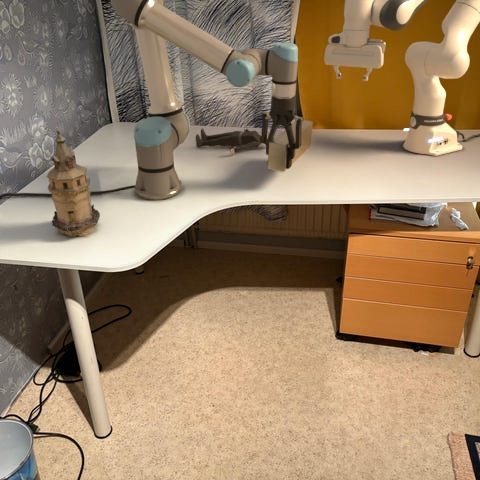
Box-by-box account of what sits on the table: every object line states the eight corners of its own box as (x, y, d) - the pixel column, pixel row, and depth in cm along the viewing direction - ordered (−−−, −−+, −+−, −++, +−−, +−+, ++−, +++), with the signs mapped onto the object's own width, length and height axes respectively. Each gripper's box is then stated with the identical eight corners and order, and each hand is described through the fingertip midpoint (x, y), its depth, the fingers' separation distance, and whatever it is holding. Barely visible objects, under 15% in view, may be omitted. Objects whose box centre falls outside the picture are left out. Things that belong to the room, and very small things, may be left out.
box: (284, 171, 175) (286, 144, 170) (267, 168, 177) (269, 142, 172) (311, 145, 196) (313, 121, 192) (295, 143, 199) (297, 119, 194)
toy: (206, 122, 226) (276, 122, 220) (207, 136, 229) (277, 136, 223) (189, 142, 204) (266, 142, 198) (190, 157, 207) (267, 158, 201)
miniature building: (80, 214, 164) (63, 117, 149) (111, 225, 157) (96, 125, 142) (44, 231, 154) (22, 130, 140) (75, 244, 147) (55, 139, 133)
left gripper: (316, 96, 166) (310, 166, 178) (260, 89, 173) (257, 157, 184) (308, 102, 160) (303, 174, 172) (250, 95, 167) (249, 164, 178)
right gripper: (388, 38, 180) (383, 80, 187) (329, 34, 187) (326, 75, 194) (384, 41, 175) (379, 84, 182) (323, 37, 183) (321, 79, 189)
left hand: (279, 165), depth 178 cm, fingers closed on box, 6 cm apart
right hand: (351, 79), depth 188 cm, fingers open, 8 cm apart
